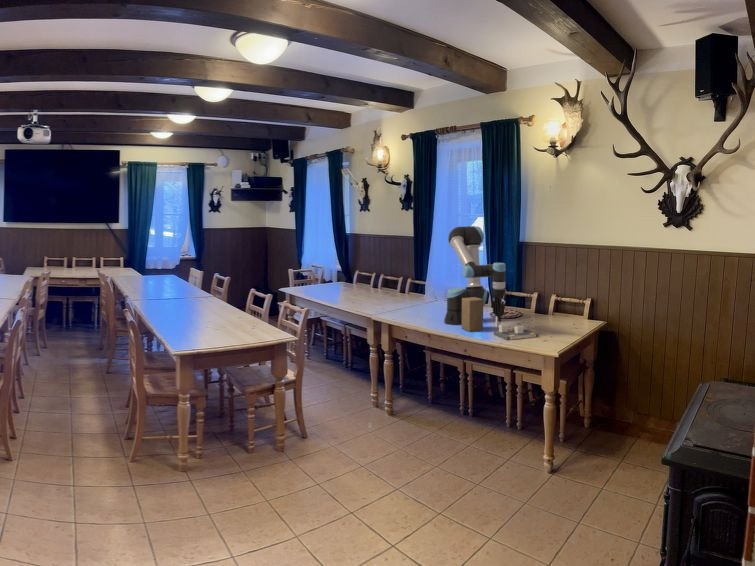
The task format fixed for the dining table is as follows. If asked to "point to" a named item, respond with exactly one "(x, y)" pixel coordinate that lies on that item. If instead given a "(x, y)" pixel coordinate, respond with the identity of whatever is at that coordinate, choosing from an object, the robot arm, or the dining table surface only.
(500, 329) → the slider
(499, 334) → the console
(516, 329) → the slider
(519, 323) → the slider
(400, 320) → the dining table surface
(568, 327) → the dining table surface
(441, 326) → the dining table surface
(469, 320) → the wooden block
